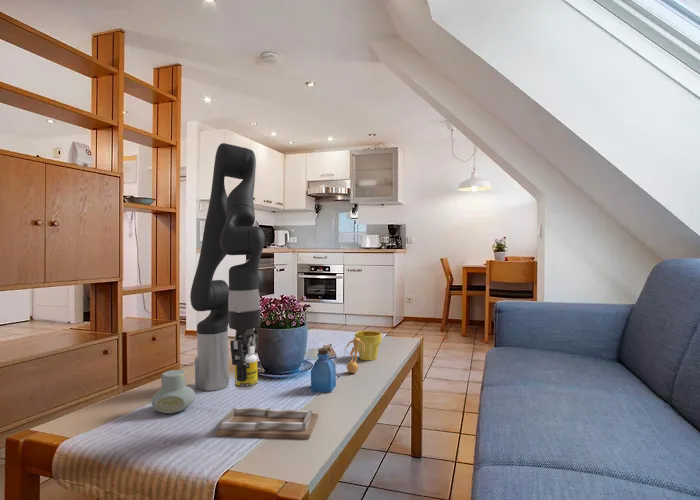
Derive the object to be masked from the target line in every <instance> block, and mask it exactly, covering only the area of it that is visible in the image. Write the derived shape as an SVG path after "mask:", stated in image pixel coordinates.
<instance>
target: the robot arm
mask: <svg viewBox="0 0 700 500" xmlns="http://www.w3.org/2000/svg"><path fill="white" fill-rule="evenodd" d="M256 158H257V157H256V155H255V152H254V151H253V150H252V149H250V148H247V147H243V146H240V145H239V146H238V145H235V144H229V143H225V142H224V143H223V142H222V143H220V144H219V145H218V146H217V148H216V152H215V157H214V166H213V173H212V182H211V183H212V184H211V190H210V191H211V192H210V197H209V204H208V207H207V211H206V212H207V213H206V216H205V217H206V218H205V222H204V227H203V235H202V242H201V246H200V253H199V257H198V263H197V267H196V270H195V274H194V277H193V281H192V284H191V288H190V296H189V297H190V298H189V299H190V305H191V307H192V309H193V310H194V311H196V312H206V311H207V312H208V311H209V314H208V315H207V317H205V318H204V319H203V320H201V321H199V322H198V323H197V325H196V346H197V347H196V351H197V356H196V357H194V385H195V388H194V389H196V390H201V391H207V392H208V391H210V392H211V391H218V390H223V389H224V388H227V387H228V386H229V382H230V381H229V379H230V377H229V345H230V354H231V362H232V363H231V365H232V366H235V365H237V381H246V380H247V365H246V364H247V356H248V355H249V354H250V347H251V346H254V353H253V354H254V355H256V356H257V354H258V352H259V351H258V347H259V330H258V329H257V328H260V326H261V297H260V290H259V268H260V262H261V258H262V254H263V249H264V246H265V242H266V241H265V239H266V238H265V237H266V235H265V233H264V231H263V229H262V228H261V227H260V226H254V224H255V220H256V216H255V215H256V213H255V205H254V195H255V194H254V192H255V183H256V180H255V179H256V167H257V166H256V164H257V162H256V160H257V159H256ZM226 177H228V178H232V179H238V180H241V182H239V184H238V185H236V186H235V187H234V188H233V189H232V190H231V191H230V193H229V194H227V192H226V191H227V190H226V186H225V178H226ZM227 255H228V256H249V259H248V260H247V261H246V262H244V263H240V264H236V265H233V266H231V267H230V268H229V269H228V283H227V282H226V281H225V280H223V279H216V280H215V279H214V280H213V278H214V275H215V272H216V270H217V268H218V267H219V265H220V264H221V263H222V261H223V260H224V259H225V257H226V256H227ZM229 329H231V330H234V331H235V336H234V340H230V343H229V336H228V335H229V334H228V331H229ZM243 350H246V351H245V352H243ZM239 356H240V360H239Z"/></svg>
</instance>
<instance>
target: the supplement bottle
mask: <svg viewBox="0 0 700 500" xmlns="http://www.w3.org/2000/svg"><path fill="white" fill-rule="evenodd" d="M245 351H246V350H243V352H245ZM253 353H254V346H251V347H250V354H249V355H248V356H247V364H246V365H247V380H246V381H237V365H234V388H236V389H237V390H240V391H247V390H253V389H255V388H256V387H258V377H259V376H258V374H259V373H258V356H257V354H256V355H254V354H253ZM239 360H240V356H239Z"/></svg>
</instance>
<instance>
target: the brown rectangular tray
mask: <svg viewBox="0 0 700 500" xmlns="http://www.w3.org/2000/svg"><path fill="white" fill-rule="evenodd" d="M318 418H319V413H315V412H314V413H313V410H299V409H298V410H297V409H296V410H295V409H271V408H269V407H268V408H267V407H266V408H263V407H259V408H258V407H232V408H231V409H230V410H229V412H228V413H227V414H226V415H225V416H224V417H223V418H222V419H221V420H220V421H219V422H218V423H217V425H218V426H217V427H218V429H217V430H216V431H215V437H237V438H238V437H239V438H266V439H267V438H270V439H271V438H272V439H274V438H275V439H299V440H300V439H303V440H305V439H306V440H309V439H310V438H311V435H312V434H313V430H314V428H315V426H316V424H317V421H318V420H319V419H318Z"/></svg>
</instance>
